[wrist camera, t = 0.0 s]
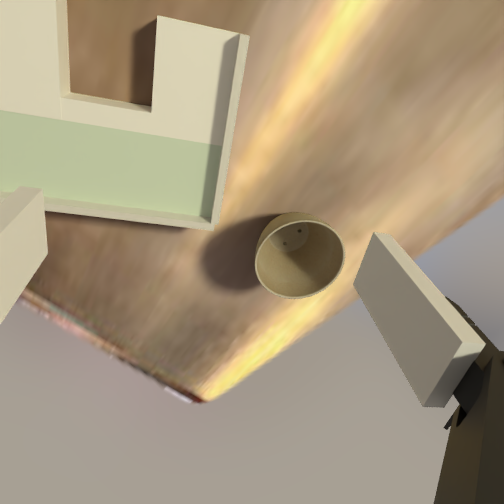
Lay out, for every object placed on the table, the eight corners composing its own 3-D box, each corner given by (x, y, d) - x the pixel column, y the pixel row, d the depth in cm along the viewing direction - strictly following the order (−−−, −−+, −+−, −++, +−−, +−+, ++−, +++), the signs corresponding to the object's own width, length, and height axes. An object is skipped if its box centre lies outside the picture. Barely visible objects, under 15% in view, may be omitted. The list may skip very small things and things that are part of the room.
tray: (-298, -86, 29) (-376, -102, 25) (244, 34, 36) (249, 36, 33) (-202, 159, 38) (-247, 175, 34) (216, 213, 46) (217, 231, 42)
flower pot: (337, 245, 50) (356, 277, 44) (267, 276, 51) (276, 311, 45) (311, 180, 45) (329, 205, 39) (234, 216, 46) (239, 245, 40)
